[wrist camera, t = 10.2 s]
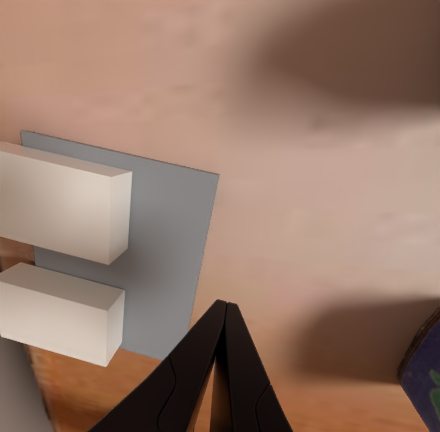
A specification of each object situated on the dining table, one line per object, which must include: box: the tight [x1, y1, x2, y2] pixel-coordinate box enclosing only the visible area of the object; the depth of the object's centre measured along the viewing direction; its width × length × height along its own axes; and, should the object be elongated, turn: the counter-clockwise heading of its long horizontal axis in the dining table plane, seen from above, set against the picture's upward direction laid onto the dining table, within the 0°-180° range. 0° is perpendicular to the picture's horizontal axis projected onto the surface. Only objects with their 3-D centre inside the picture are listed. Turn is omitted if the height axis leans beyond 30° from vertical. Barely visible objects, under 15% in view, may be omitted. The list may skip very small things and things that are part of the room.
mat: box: [21, 131, 219, 360], centre depth 18 cm, size 18×14×1 cm
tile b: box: [0, 142, 132, 265], centre depth 15 cm, size 6×2×10 cm
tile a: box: [0, 262, 125, 367], centre depth 19 cm, size 6×2×10 cm
